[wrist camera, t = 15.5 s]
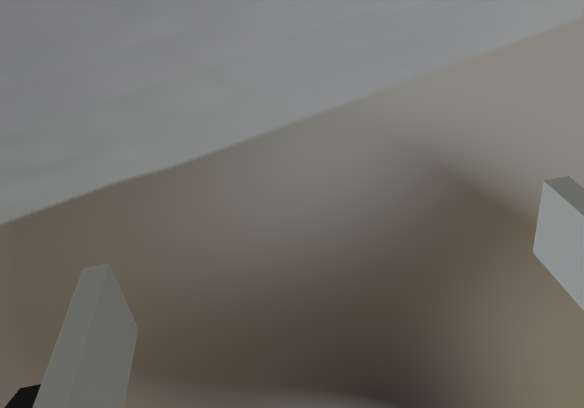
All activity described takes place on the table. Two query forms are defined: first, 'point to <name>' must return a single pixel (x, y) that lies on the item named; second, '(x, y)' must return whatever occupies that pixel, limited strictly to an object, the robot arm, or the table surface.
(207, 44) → the table surface
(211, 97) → the table surface
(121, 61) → the table surface
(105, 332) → the robot arm
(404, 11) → the table surface
